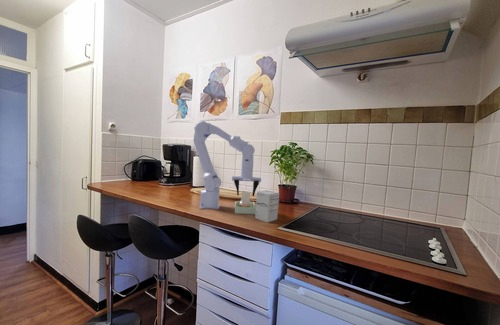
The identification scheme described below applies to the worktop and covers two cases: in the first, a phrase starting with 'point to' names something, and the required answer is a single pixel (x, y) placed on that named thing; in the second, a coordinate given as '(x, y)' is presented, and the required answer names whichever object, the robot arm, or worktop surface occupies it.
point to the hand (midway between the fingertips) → (245, 195)
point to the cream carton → (245, 196)
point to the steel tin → (245, 204)
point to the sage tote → (245, 208)
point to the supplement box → (267, 205)
